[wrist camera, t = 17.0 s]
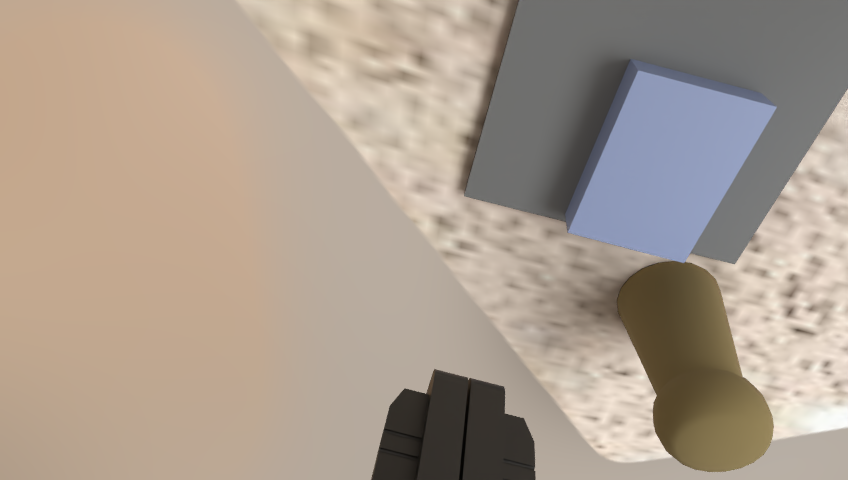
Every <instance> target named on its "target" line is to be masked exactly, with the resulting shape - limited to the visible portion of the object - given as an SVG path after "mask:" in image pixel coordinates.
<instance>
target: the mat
mask: <svg viewBox="0 0 848 480" xmlns="http://www.w3.org/2000/svg"><path fill="white" fill-rule="evenodd" d="M630 59H634V60H637V61H641V62H645V63H649V64H653V65H656V66H660V67H664V68H668V69H672V70H675V71H679V72H683V73H687V74H691V75H694V76H698V77H702V78H706V79H709V80H713V81H717V82H721V83H725V84H728V85H732V86H736V87H740V88H744V89H747V90H751V91H755V92H759V93H762V94H763V95H764V96H765V97H766V98H767V99H768V100H770V101H771V102H772V103H773V104H774V105H775V106H777V108H776V110H775V111H774V113H773V115H772V116H771V118H770V120H769V121H768V123H767V125H766V127H765V128H764V130H763V132H762V133H761V135H760V137H759V138H758V140H757V142H756V143H755V145H754V147H753V148H752V150H751V152H750V153H749V155H748V157H747V158H746V160H745V162H744V163H743V165H742V167H741V168H740V170H739V172H738V173H737V175H736V177H735V179H734V180H733V182H732V184H731V185H730V187H729V189H728V190H727V192H726V194H725V195H724V197H723V199H722V200H721V202H720V204H719V205H718V207H717V209H716V210H715V212H714V214H713V215H712V217H711V219H710V220H709V222H708V224H707V225H706V227H705V229H704V231H703V232H702V234H701V236H700V237H699V239H698V241H697V242H696V244H695V246H694V247H693V249H692V251H691V252H690V253H692V254H696V255H700V256H704V257H708V258H712V259H716V260H720V261H724V262H728V263H732V264H735V263H736V261H737V260H738V258H739V257H740V255H741V254H742V252H743V251H744V249H745V247H746V246H747V244H748V243H749V241H750V240H751V238H752V237H753V235H754V233H755V232H756V230H757V229H758V227H759V226H760V224H761V223H762V221H763V219H764V218H765V216H766V215H767V213H768V212H769V210H770V209H771V207H772V205H773V204H774V202H775V201H776V199H777V198H778V196H779V195H780V193H781V191H782V190H783V188H784V187H785V185H786V184H787V182H788V181H789V179H790V177H791V176H792V174H793V173H794V171H795V170H796V168H797V167H798V165H799V163H800V162H801V160H802V159H803V157H804V156H805V154H806V153H807V151H808V150H809V148H810V146H811V145H812V143H813V142H814V140H815V139H816V137H817V136H818V134H819V132H820V131H821V129H822V128H823V126H824V125H825V123H826V122H827V120H828V118H829V117H830V115H831V114H832V112H833V111H834V109H835V108H836V106H837V104H838V103H839V101H840V100H841V98H842V97H843V95H844V94H845V92H846V90H847V89H848V0H519V1H518V5H517V8H516V12H515V15H514V19H513V22H512V26H511V29H510V33H509V36H508V40H507V44H506V47H505V51H504V54H503V58H502V61H501V65H500V68H499V72H498V75H497V79H496V83H495V86H494V90H493V93H492V97H491V100H490V104H489V107H488V111H487V114H486V118H485V122H484V125H483V129H482V132H481V136H480V139H479V143H478V146H477V150H476V153H475V157H474V161H473V164H472V168H471V171H470V175H469V178H468V182H467V185H466V189H465V193H464V196H466V197H470V198H474V199H478V200H482V201H486V202H490V203H494V204H498V205H502V206H506V207H510V208H513V209H517V210H521V211H525V212H529V213H533V214H537V215H541V216H545V217H549V218H553V219H557V220H561V221H565V222H566V217H565V213H566V211H567V209H568V206H569V204H570V201H571V199H572V197H573V194H574V192H575V190H576V187H577V185H578V183H579V180H580V178H581V175H582V173H583V171H584V168H585V166H586V164H587V161H588V159H589V156H590V154H591V152H592V149H593V147H594V145H595V142H596V140H597V137H598V135H599V133H600V130H601V128H602V126H603V123H604V121H605V119H606V116H607V114H608V111H609V109H610V107H611V104H612V102H613V100H614V97H615V95H616V92H617V90H618V88H619V85H620V83H621V81H622V78H623V76H624V73H625V71H626V69H627V66H628V64H629V62H630Z"/></svg>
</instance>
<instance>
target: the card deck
mask: <svg viewBox="0 0 848 480" xmlns="http://www.w3.org/2000/svg"><path fill="white" fill-rule="evenodd" d="M776 108H777V106H775V105H774V104H773V103H772V102H771V101H770V100H768V99H767V98H766V97H765V96H764V95H763V94H762V93H759V92H755V91H751V90H747V89H744V88H740V87H736V86H732V85H728V84H725V83H721V82H717V81H713V80H709V79H706V78H702V77H698V76H694V75H691V74H687V73H683V72H679V71H675V70H672V69H668V68H664V67H660V66H656V65H653V64H649V63H645V62H641V61H637V60H634V59H630V62H629V64H628V66H627V69H626V71H625V73H624V76H623V78H622V81H621V83H620V85H619V88H618V90H617V92H616V95H615V97H614V100H613V102H612V104H611V107H610V109H609V111H608V114H607V116H606V119H605V121H604V123H603V126H602V128H601V130H600V133H599V135H598V137H597V140H596V142H595V145H594V147H593V149H592V152H591V154H590V156H589V159H588V161H587V164H586V166H585V168H584V171H583V173H582V175H581V178H580V180H579V183H578V185H577V187H576V190H575V192H574V194H573V197H572V199H571V201H570V204H569V206H568V209H567V211H566V213H565V217H566V224H567V231H568V233H571V234H575V235H579V236H582V237H586V238H590V239H594V240H598V241H601V242H605V243H609V244H613V245H617V246H621V247H624V248H628V249H632V250H636V251H640V252H643V253H647V254H651V255H655V256H659V257H662V258H666V259H670V260H674V261H678V262H681V263H684V262H685V261H686V259H687V257H688V256H689V254H690V252H691V251H692V249H693V247H694V246H695V244H696V242H697V241H698V239H699V237H700V236H701V234H702V232H703V231H704V229H705V227H706V225H707V224H708V222H709V220H710V219H711V217H712V215H713V214H714V212H715V210H716V209H717V207H718V205H719V204H720V202H721V200H722V199H723V197H724V195H725V194H726V192H727V190H728V189H729V187H730V185H731V184H732V182H733V180H734V179H735V177H736V175H737V173H738V172H739V170H740V168H741V167H742V165H743V163H744V162H745V160H746V158H747V157H748V155H749V153H750V152H751V150H752V148H753V147H754V145H755V143H756V142H757V140H758V138H759V137H760V135H761V133H762V132H763V130H764V128H765V127H766V125H767V123H768V121H769V120H770V118H771V116H772V115H773V113H774V111H775V110H776Z"/></svg>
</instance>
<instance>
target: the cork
mask: <svg viewBox="0 0 848 480" xmlns="http://www.w3.org/2000/svg"><path fill="white" fill-rule="evenodd" d="M617 306H618V313H619V315H620V317H621V319H622V321H623V324H624V326H625V328H626V330H627V332H628V334H629V337H630V339H631V341H632V343H633V345H634V347H635V350H636V352H637V354H638V356H639V358H640V360H641V362H642V365H643V367H644V369H645V371H646V373H647V375H648V378H649V380H650V382H651V384H652V386H653V388H654V391H655V393H656V395H657V397H656V399H655V401H654V406H653V423H654V427H655V432H656V434H657V436H658V438H659V439H660V441H661V443H662V445H663V446H664V448H665V450H666V451H667V452H668V453H669V454H670V455H672V456H673V457H674V458H675V459H677V460H678V461H679V462H680V463H682V464H683V465H685V466H688V467H690V468H693V469H696V470H702V471H707V472H722V471H723V472H724V471H730V470H735V469H739V468H742V467H744V466H746V465H749V464H751V463H753V462H755V461H756V460H757V459H759V458H760V457H761V456H762V455H764V453H765V452H766V450H767V449H768V447H769V446H770V443H771V440H772V436H773V428H774V425H773V418H772V414H771V412H770V410H769V407H768V405H767V403H766V401H765V399H764V397H763V395H762V394H761V393H760V392H759V391H758V390H757V389H756V388H755V387H754V386H753V385H752V384H751V383H750V382H749V381H748V380H747V379H745V378H743V377H742V373H741V369H740V365H739V361H738V358H737V354H736V350H735V346H734V342H733V338H732V334H731V330H730V327H729V323H728V319H727V315H726V311H725V307H724V303H723V299H722V295H721V292H720V289H719V286H718V284H717V282H716V279H715V278H714V277H713V276H712V275H711V274H710V273H709V272H708V271H707V270H705V269H703V268H701V267H699V266H697V265H694V264H692V263H686V262H684V263H681V262H678V261H671V262H662V263H657V264H654V265H651V266H648V267H646V268H643V269H641V270H640V271H638V272H637V273H636V274H634V275H633V276H631V277H630V278H629V279H628V280H627V282H626V283H625V284H624V285H623V286H622V288H621V290H620V293H619V296H618V299H617Z"/></svg>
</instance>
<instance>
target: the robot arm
mask: <svg viewBox="0 0 848 480" xmlns="http://www.w3.org/2000/svg"><path fill="white" fill-rule="evenodd" d="M534 468H535V451H534V441H533V438H532V436H531V434H530V431H529V429H528V427H527V425H526V422H525V420H524V418H520V417H516V416H512V415H508V414H505V389H504V387H503V386H499V385H495V384H491V383H488V382H483V381H479V380H476V379H472V378H470V379H469V380H468V378H467V377H463V376H459V375H455V374H451V373H447V372H443V371H439V370H436V369H435V370H434V371H433V374H432V377H431V380H430V384H429V387H428V390H427V393H426V394H425V393H420V392H416V391H412V390H409V389H404V390H403V391H402V392H401V393H400V395H399V396H398V397H397V398H396V399H395V401H394V402H393V403H392V404H391V405H390V408H389V411H388V415H387V419H386V423H385V427H384V431H383V434H382V438H381V442H380V446H379V450H378V454H377V458H376V463H375V467H374V470H373V475H372V479H371V480H535V471H534Z"/></svg>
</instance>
